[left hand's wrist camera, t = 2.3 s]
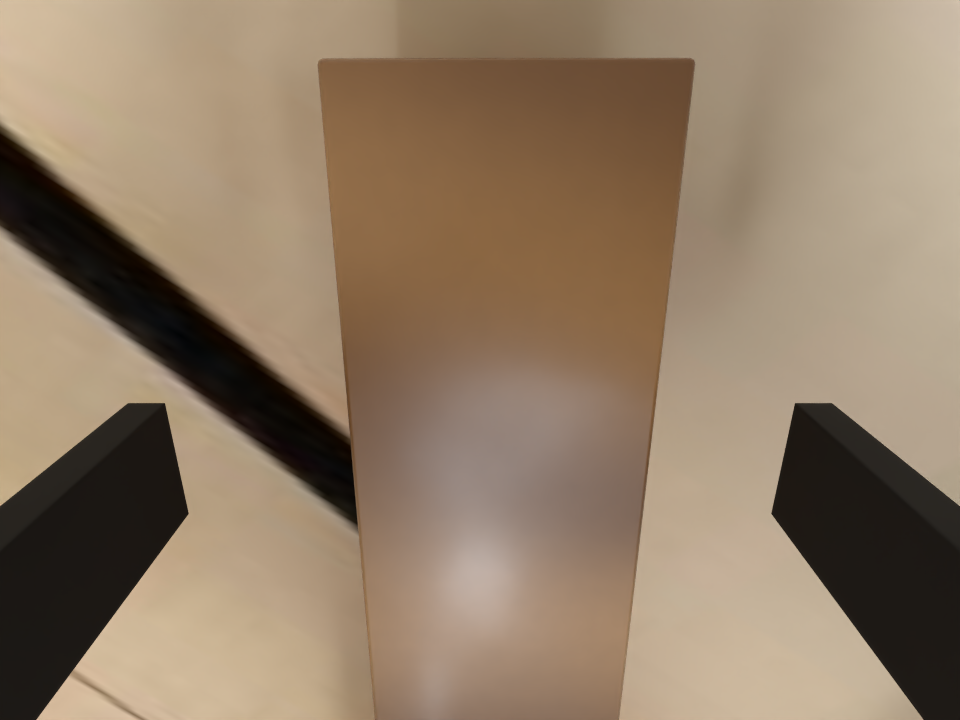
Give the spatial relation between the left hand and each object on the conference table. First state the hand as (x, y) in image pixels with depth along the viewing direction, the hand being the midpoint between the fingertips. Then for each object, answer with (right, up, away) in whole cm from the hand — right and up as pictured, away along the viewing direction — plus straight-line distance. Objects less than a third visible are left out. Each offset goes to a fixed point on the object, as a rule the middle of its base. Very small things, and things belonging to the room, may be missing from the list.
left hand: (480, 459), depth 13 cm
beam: (0, -19, +14) cm, 23 cm away
